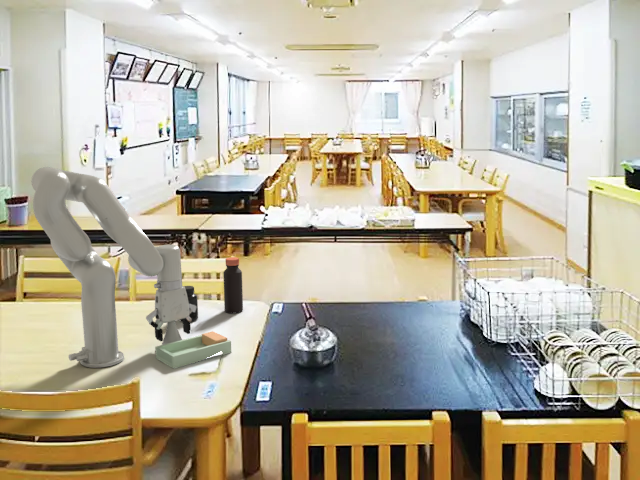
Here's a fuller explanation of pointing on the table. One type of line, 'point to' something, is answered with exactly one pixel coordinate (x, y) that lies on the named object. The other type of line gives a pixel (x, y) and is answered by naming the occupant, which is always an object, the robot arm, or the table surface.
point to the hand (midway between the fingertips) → (173, 336)
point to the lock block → (212, 338)
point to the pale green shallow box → (189, 351)
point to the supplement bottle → (192, 301)
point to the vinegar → (233, 286)
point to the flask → (171, 333)
